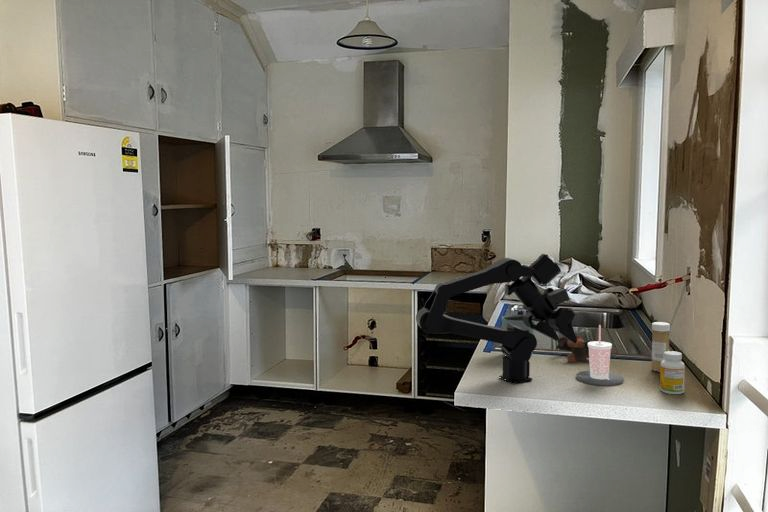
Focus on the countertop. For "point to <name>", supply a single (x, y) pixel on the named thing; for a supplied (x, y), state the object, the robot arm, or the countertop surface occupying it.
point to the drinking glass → (515, 322)
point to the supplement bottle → (672, 373)
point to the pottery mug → (575, 348)
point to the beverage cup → (599, 358)
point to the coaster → (610, 381)
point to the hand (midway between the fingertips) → (566, 340)
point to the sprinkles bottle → (659, 343)
